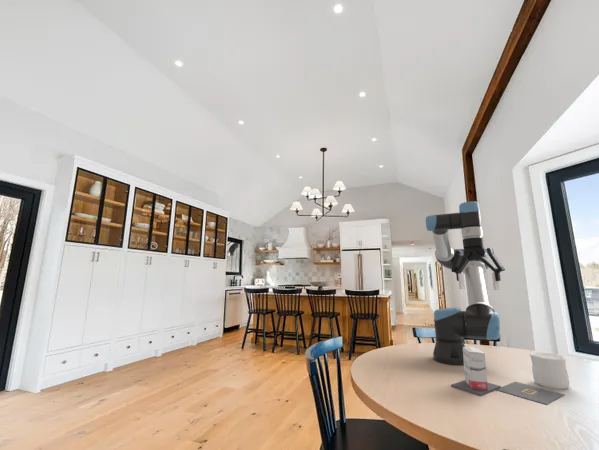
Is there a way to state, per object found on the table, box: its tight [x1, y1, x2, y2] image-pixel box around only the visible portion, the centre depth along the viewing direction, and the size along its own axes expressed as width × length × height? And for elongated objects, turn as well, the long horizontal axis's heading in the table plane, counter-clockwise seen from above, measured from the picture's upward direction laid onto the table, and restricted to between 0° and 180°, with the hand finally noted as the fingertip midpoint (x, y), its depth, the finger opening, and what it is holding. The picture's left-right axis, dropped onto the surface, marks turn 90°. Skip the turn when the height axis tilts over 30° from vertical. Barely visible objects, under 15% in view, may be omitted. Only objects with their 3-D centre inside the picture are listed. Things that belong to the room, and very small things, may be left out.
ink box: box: [463, 346, 488, 390], centre depth 102 cm, size 9×5×12 cm, turn 167°
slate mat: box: [495, 381, 565, 405], centre depth 96 cm, size 14×14×1 cm
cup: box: [529, 352, 570, 390], centre depth 104 cm, size 10×10×10 cm
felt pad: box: [450, 379, 502, 397], centre depth 101 cm, size 10×13×1 cm
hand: (478, 289), depth 119 cm, fingers open, 13 cm apart
